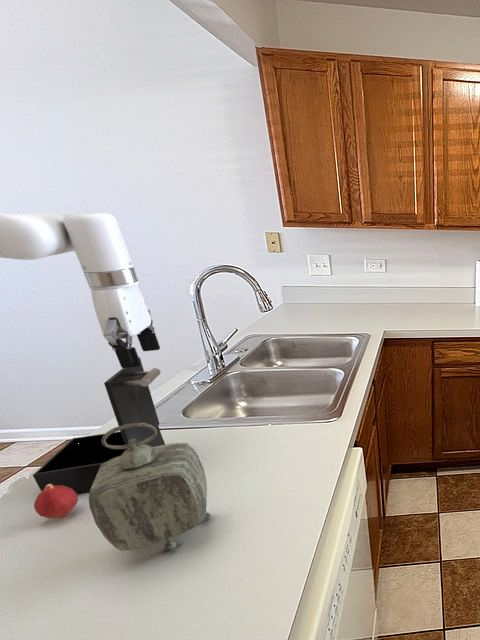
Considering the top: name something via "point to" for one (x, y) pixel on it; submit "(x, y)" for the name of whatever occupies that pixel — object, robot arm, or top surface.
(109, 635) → the top surface
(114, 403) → the lid
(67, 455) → the black shallow rectangular box
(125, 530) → the tabletop clock
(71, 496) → the red round piece
